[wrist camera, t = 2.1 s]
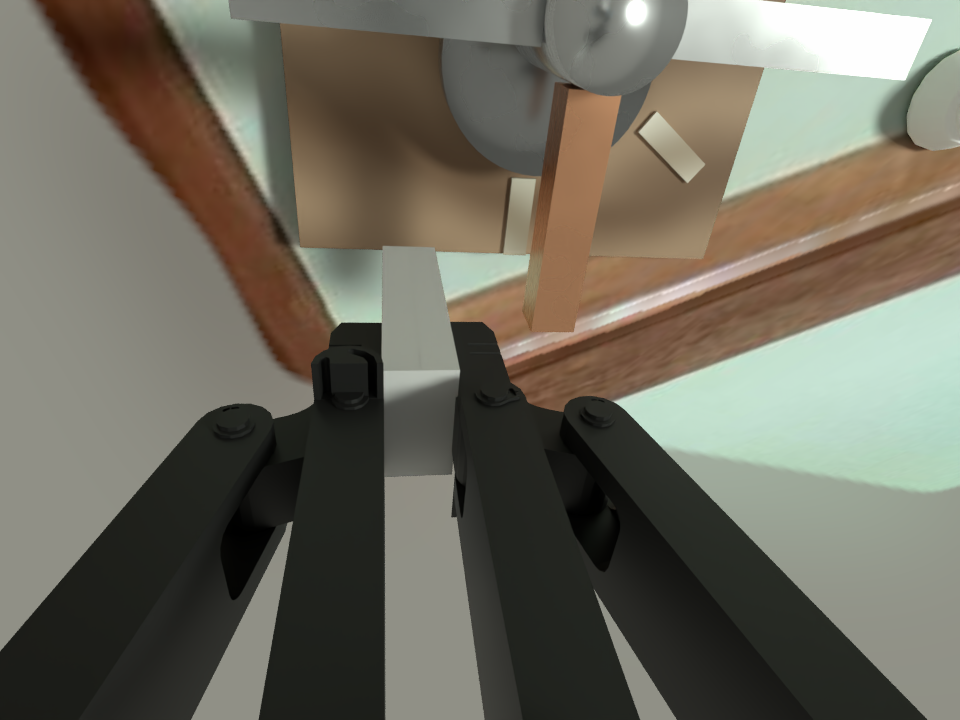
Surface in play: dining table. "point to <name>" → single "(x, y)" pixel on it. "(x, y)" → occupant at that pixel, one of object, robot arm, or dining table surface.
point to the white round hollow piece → (937, 107)
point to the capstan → (593, 86)
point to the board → (472, 177)
